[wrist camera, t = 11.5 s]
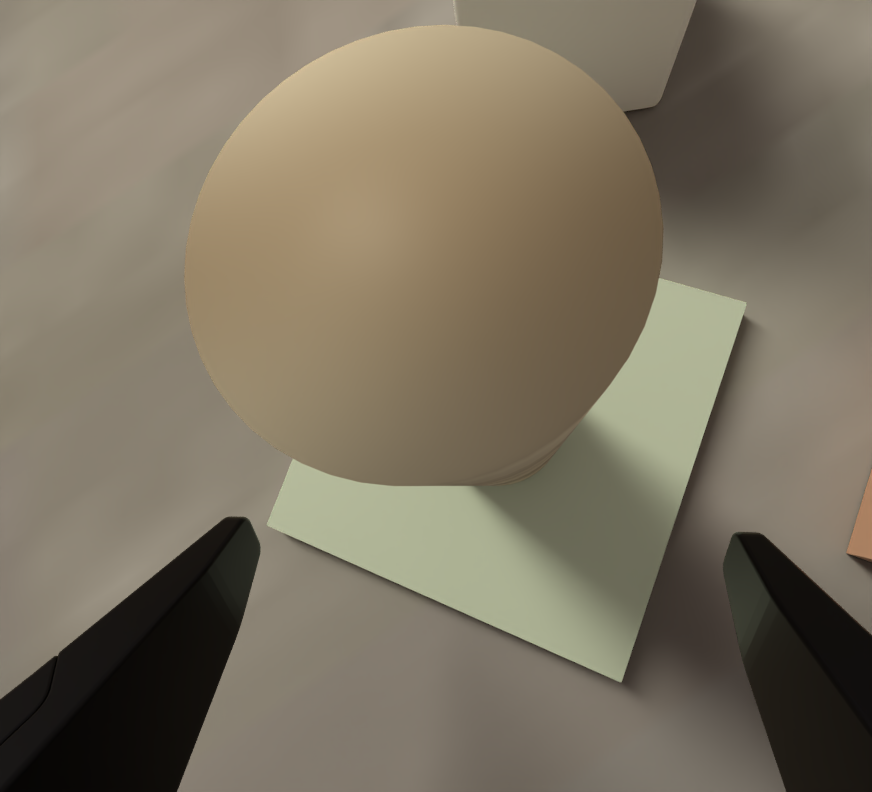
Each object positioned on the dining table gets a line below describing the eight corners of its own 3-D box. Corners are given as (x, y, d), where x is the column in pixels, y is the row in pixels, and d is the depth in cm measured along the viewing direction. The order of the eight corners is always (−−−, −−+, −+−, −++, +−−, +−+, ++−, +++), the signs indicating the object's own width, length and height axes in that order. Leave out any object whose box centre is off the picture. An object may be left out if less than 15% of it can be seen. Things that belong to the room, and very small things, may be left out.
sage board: (616, 673, 17) (621, 682, 17) (276, 523, 20) (266, 525, 19) (738, 310, 19) (746, 302, 18) (399, 213, 21) (395, 203, 20)
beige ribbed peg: (578, 468, 18) (738, 413, 4) (448, 498, 18) (217, 537, 5) (543, 343, 19) (581, -39, 5) (420, 375, 19) (160, 109, 6)
